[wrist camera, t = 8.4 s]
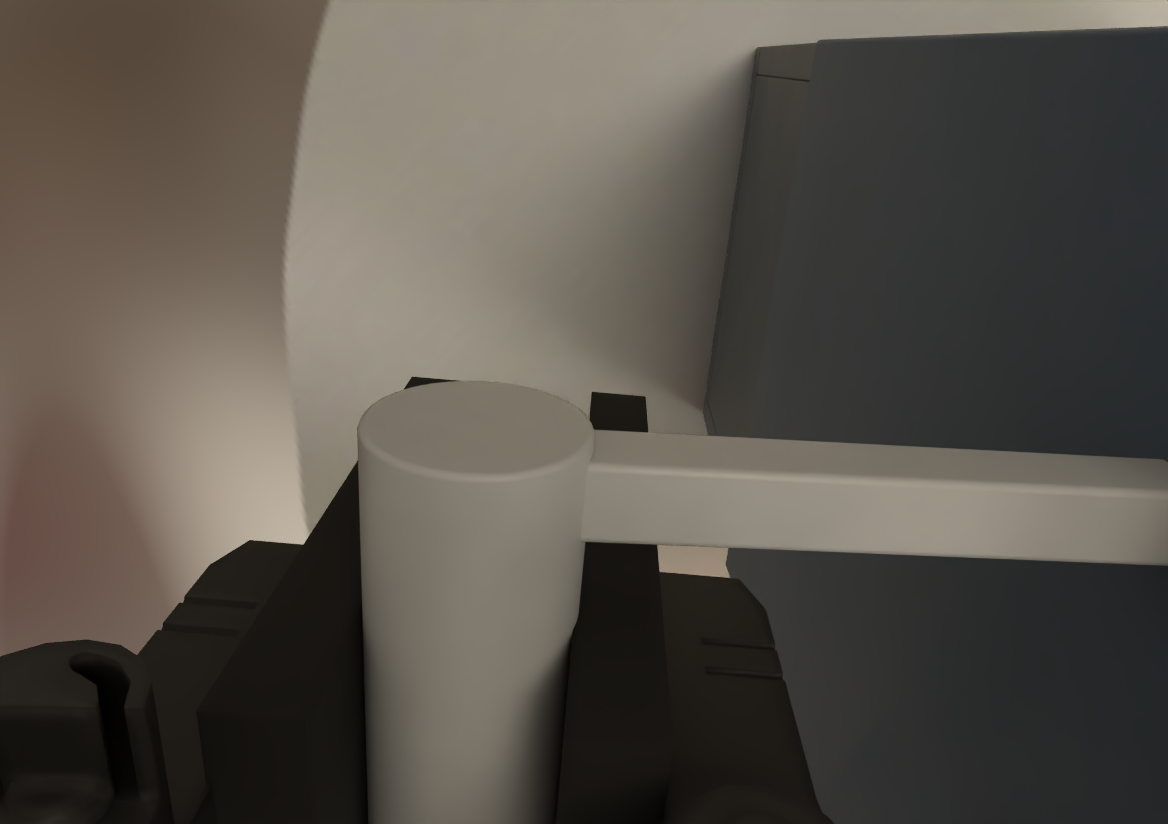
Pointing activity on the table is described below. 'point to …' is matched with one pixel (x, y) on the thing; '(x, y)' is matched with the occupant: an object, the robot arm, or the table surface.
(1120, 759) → the box lid
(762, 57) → the open box
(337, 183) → the table surface
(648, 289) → the table surface
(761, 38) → the table surface
